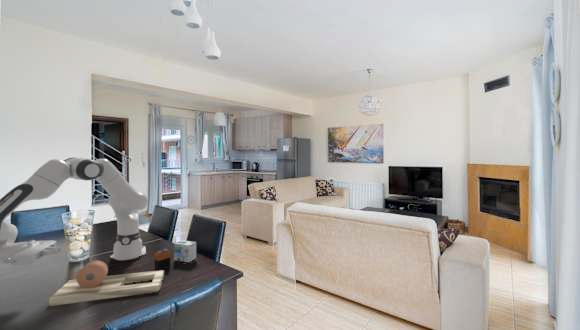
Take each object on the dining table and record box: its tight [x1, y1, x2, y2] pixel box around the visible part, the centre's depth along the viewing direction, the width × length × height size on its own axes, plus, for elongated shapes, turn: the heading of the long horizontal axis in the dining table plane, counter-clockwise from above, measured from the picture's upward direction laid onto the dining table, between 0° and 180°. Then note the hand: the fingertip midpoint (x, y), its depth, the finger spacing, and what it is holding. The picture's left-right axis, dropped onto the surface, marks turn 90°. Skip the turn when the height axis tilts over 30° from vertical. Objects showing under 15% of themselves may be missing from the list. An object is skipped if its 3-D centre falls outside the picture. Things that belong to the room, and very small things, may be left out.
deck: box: [48, 269, 165, 307], centre depth 122 cm, size 17×40×3 cm, turn 108°
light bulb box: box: [173, 239, 197, 262], centre depth 156 cm, size 11×7×11 cm, turn 71°
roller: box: [75, 259, 109, 288], centre depth 119 cm, size 6×10×10 cm, turn 108°
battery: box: [154, 248, 171, 271], centre depth 145 cm, size 4×7×10 cm, turn 146°
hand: (59, 250), depth 115 cm, fingers closed
